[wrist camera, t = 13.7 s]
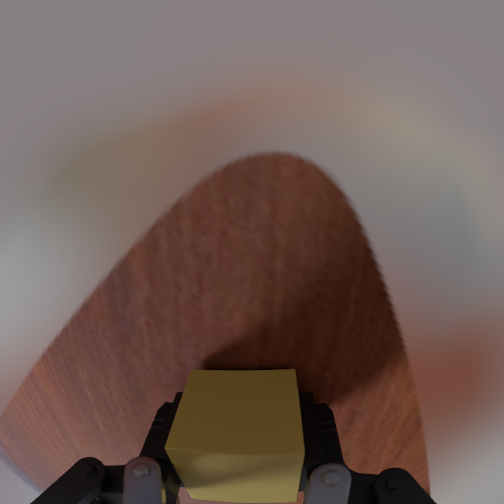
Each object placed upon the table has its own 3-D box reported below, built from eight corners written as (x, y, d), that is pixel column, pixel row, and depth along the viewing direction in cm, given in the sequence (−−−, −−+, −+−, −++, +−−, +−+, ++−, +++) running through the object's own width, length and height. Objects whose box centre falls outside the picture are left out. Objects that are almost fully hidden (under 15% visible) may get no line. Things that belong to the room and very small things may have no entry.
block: (190, 368, 10) (163, 447, 6) (295, 368, 10) (305, 453, 6) (206, 430, 11) (191, 498, 8) (292, 430, 11) (296, 502, 7)
